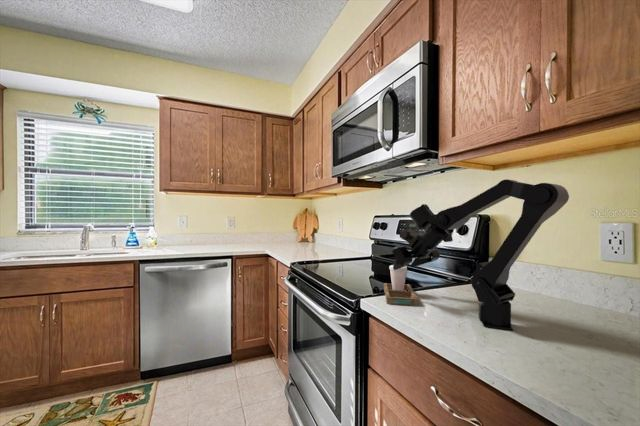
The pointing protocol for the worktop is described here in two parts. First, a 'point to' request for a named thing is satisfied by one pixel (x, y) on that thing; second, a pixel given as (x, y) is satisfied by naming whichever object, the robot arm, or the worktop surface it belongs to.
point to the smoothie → (398, 277)
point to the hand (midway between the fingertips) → (402, 267)
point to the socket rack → (400, 295)
